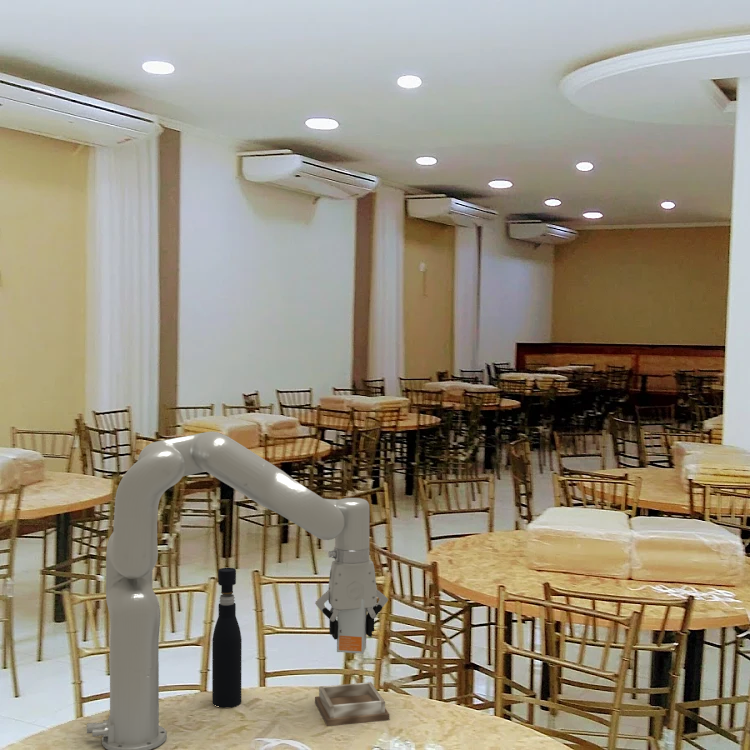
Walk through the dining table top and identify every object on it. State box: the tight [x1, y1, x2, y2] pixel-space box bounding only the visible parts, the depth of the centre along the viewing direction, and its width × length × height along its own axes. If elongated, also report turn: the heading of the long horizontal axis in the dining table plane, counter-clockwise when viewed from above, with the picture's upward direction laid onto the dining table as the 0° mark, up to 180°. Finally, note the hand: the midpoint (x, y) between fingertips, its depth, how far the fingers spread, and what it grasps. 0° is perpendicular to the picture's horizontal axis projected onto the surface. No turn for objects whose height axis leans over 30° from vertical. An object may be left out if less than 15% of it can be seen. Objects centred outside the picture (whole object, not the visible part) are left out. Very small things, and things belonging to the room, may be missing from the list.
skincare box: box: [336, 599, 368, 655], centre depth 204 cm, size 6×4×12 cm
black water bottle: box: [211, 567, 243, 708], centre depth 208 cm, size 6×6×30 cm
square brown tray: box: [314, 681, 390, 727], centre depth 204 cm, size 14×14×4 cm
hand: (351, 635), depth 204 cm, fingers closed on skincare box, 7 cm apart
